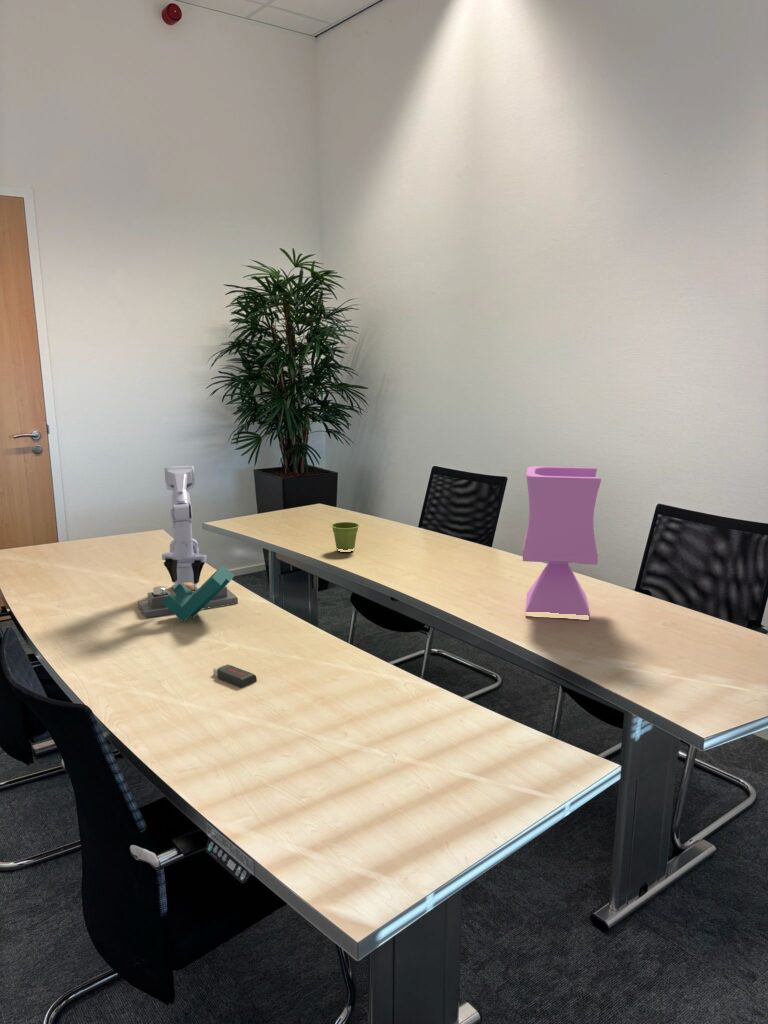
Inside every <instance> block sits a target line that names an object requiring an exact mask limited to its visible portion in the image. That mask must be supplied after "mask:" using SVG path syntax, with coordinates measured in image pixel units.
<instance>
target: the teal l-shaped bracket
mask: <svg viewBox="0 0 768 1024" xmlns="http://www.w3.org/2000/svg"><path fill="white" fill-rule="evenodd" d="M234 577H235V574H234V573H232V572H231V570H230V569H229V568H228V567H226V566H225V565H224V564H222V565H221V566H220V567H219V568H218V569H217V570H216V571H215V572H214V573H213V574H212V575H210V577H209V578H207V580H206V581H205V582H203V583H202V584H201V586H199V589H198V590H197V591H196V592H195V593H193V592H192V591H191V590H190V589H189V588H188V587H186V586H185V585H184V584H183V583H182V582H181V583H180V584H179V585H178V586H177V587H176V588H175V589H174V588H173V590H172V592H174V594H176V595H177V597H178V598H177V597H175V596H176V595H173V594H172V593H171V594H170V595H169V596H168V597H167V598H166V599H165V600H164V601H163V602H162V603H163V604H164V605H165V606H166V607H167V608H168V609H169V610H170V611H172V612H173V613H174V615H175V616H176V618H178V619H179V620H180V621H181V622H183V623H185V622H186V620H187V619H188V618H189V617H191V618H194V617H196V616H197V615H198V614H199V613H200V611H202V610H203V609H202V608H204V607H205V606H206V605H207V604H208V603H209V602H210V601H211V600H212V599H213V598H214V597H215V596H216V595H217V594H218V593H219V592H220V591H221V590H222V589H223V588H224V587H225V586H226V587H227V585H228V584H229V583H230V582H231V581H232V580H233V578H234Z"/></svg>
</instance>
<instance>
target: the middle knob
mask: <svg viewBox="0 0 768 1024" xmlns="http://www.w3.org/2000/svg"><path fill="white" fill-rule="evenodd" d="M183 584H184V585H185V586H186V587H188V588H189V589H190V590H191V591H194V584H193V583H191V582H186V583H183Z"/></svg>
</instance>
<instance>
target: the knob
mask: <svg viewBox="0 0 768 1024" xmlns="http://www.w3.org/2000/svg"><path fill="white" fill-rule="evenodd" d="M152 590H153V591H152V592H153V594H154V597H158V596H165V595H166V590H167V586H165V585H164V586H163V585H161V586H159V585H158V586H155V587H153V588H152Z"/></svg>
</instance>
